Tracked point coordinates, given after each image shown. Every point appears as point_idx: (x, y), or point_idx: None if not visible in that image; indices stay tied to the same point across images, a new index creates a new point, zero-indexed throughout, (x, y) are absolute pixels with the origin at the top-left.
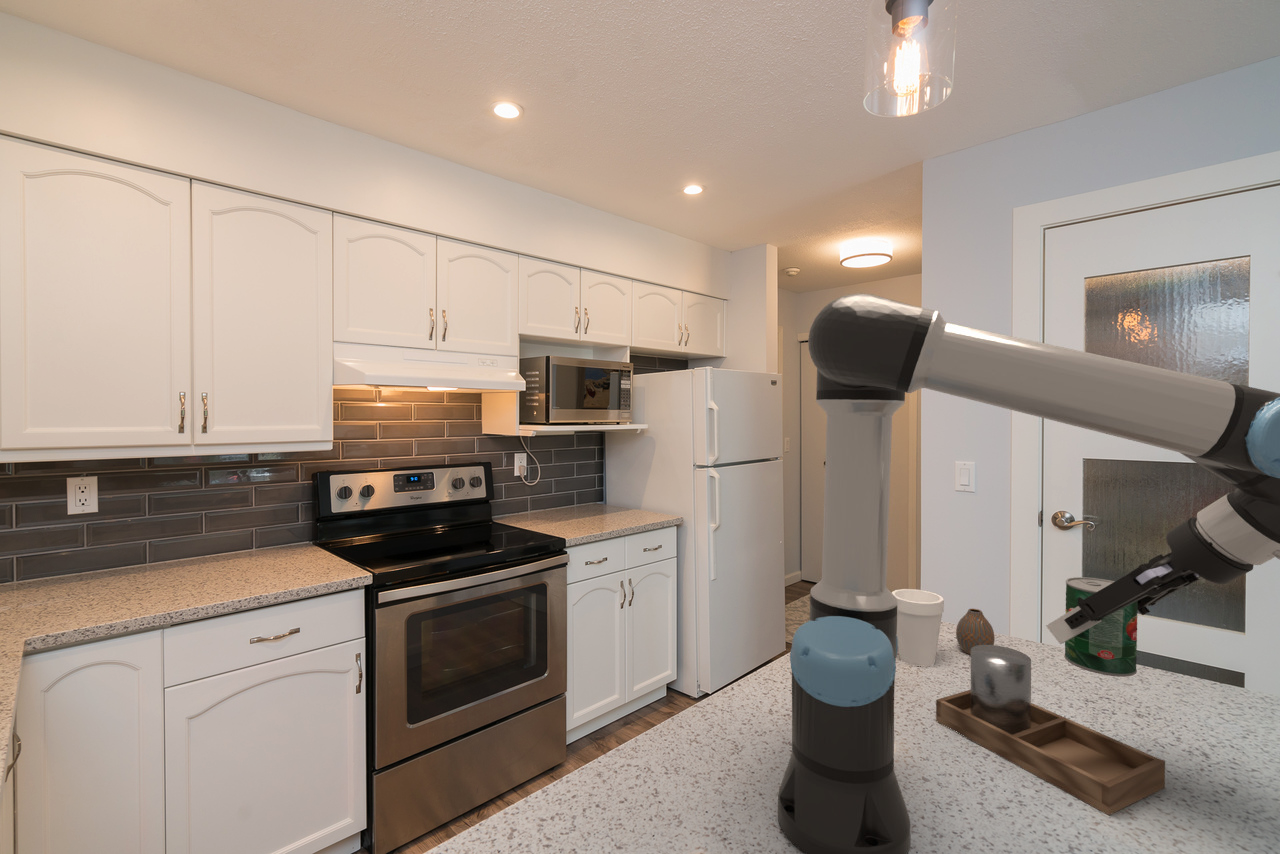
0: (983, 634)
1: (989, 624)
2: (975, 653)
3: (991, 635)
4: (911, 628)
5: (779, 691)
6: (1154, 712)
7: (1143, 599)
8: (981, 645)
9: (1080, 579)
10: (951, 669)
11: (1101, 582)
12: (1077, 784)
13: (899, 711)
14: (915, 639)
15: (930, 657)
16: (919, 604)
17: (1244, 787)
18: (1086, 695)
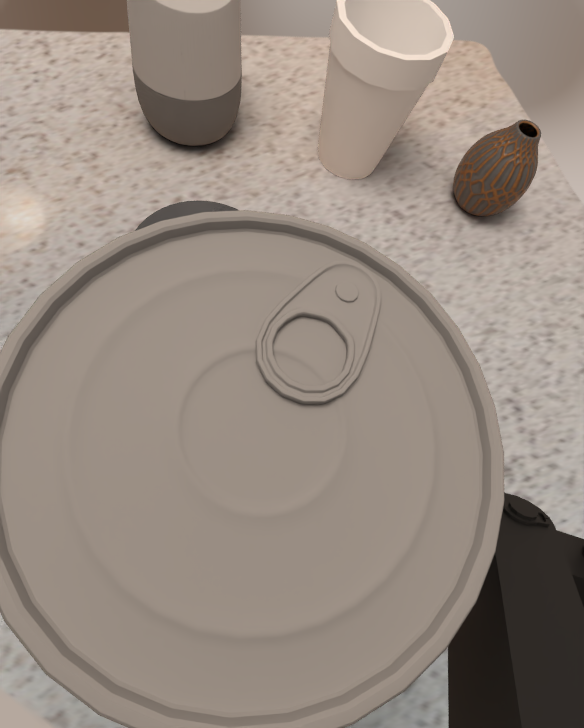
0: (490, 182)
1: (525, 172)
2: (156, 219)
3: (506, 193)
4: (330, 89)
5: (15, 73)
6: (542, 483)
7: (458, 662)
8: (230, 209)
9: (343, 264)
10: (368, 204)
11: (414, 376)
12: None
13: (123, 217)
14: (331, 117)
15: (348, 164)
16: (352, 38)
17: (393, 709)
18: (492, 382)
